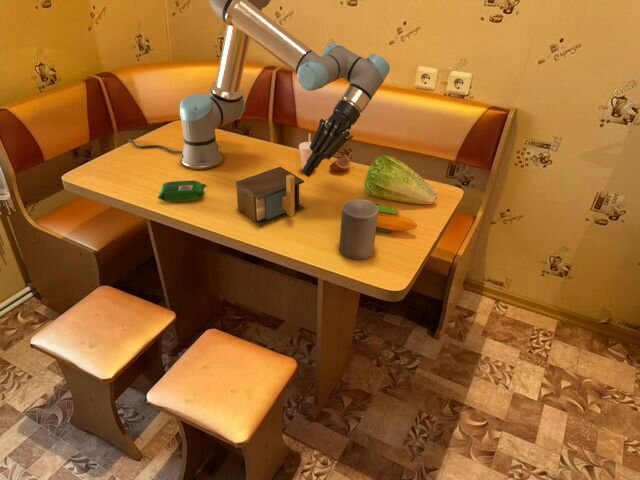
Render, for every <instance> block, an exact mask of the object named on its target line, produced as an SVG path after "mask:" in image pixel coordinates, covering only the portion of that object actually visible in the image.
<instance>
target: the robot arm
mask: <svg viewBox="0 0 640 480" xmlns="http://www.w3.org/2000/svg"><path fill="white" fill-rule="evenodd" d="M208 1H209V6H210V7H211V10H212V11H213V12H214V13H215V15H216V17H218V18H219V20H221V21H222V22H223V23H225V24H226V25H225V30H224V37H223V42H222V47H221V51H220V52H221V53H220V58H219V64H218V70H217V75H216V79H215V81H213V82H212V83H211V85H210V88H209V94H206V93H196V94H191V95H188V96H187V97H184V98H183V99H182V100H181V101H180V103H179V117H180V118H179V119H180V125H181V130H182V137H183V147H182V150H171V149H169V148H167V147H165V146H164V145H159V144H148V145H138V144H136V143H135V142H134V140H133V139H131V138H130V139H129V140H128V143H131V144H132V145H133V146H134V148H138V149H149V148H159V149H163V150H165V151H166V152H168V153H170V154H181V164H182V166H183V167H185V168H187V169H189V170H193V171H194V170H195V171H204V170H205V171H206V170H211V169H214V168H216V167H219V166H220V165H221V164H222V163H223V161H224V157H223V153H222V151H221V146H220V145H219V144H218V142H217V138H216V130H217V129H219V128H221V127H223V126H225V125H228V124H230V123H232V122H235V121H236V120H238V119H239V118H241V117H242V116H243V114H244V112H245V110H246V105H247V104H246V100H245V99H244V98H245V95H244V93H243V89H242V88H241V83H242V79H243V73H244V70H245V66H246V65H245V64H246V61H247V55H248V51H249V47H250V42H251V40H252V41H253V42H255V43H256V44H257V45H259V46H260V47H262V48H263V49H264V50H266V51H267V52H268V53H269V54H271V55H272V56H273V57H274V58H276V60H278V61H279V62H281V63H282V64H284V65H285V66H286V67H287V68H289V69H290V70H291V71H292V72H294V73H295V74H296V75H297V76H296V77H297V81H298V83H299V85H300V87H301V88H302V89H303V90H305V91H308V92H313V91H316V90H319V89H323V88H324V87H326V86H327V85H329V84H331V83H333V82H336V81H337V80H339V79H343V80H344V81H346V82H348V83H350V84H349V85H348V87H347V88H346V90H345V91H344V92H343V94H342V95H341V97H340V98H341V99H340V100H338V101H337V102H336V104H335V106H334V107H333V110H332V114H331V115H330V116H329V117H327V118H328V119H323V118H320V119H319V123H318V127H317V130H316V131H315V134H314V136H313V139H312V140H311V142H312V143H311V145H310V149H311V150H312V154H311V155H310V157H309V158H308V160H307V163H306V165H305V166H304V168H303V169H302V168H301V171H300V172H301V173H302V174H303V175H304V176H306V177H307V178H310V177H311V176H312V174H313V172H314V171H315V170H316V169H318V168H319V166H320V164H321V163H322V162H323V161H324V160H331V159H332V157H334V155H335V154H336V153H337V152H339V150H340V149H342V147H343V146H344V145H345V144H346V143H347V142H348V141H350V140H351V139H353V138H354V135H353V134H352V132H351V129H352V126H353V125H356V123H357V121H358V119H359V118H360V116H361V113H363V112H364V111H365V109H366V108H367V106H368V105H369V104H370V102H371V101H372V99H373V97H374V96H375V94H376V93H377V92H378V91H379V89H380V87H381V86H382V85H383V83H384V82H385V80H386V78H387V77H388V75H389V73H390V71H391V66H390V64H389V62H388V61H387V60H386V58H384V57H383V56H380V55H379V54H376V53H371V54H369V55H368V57H366V58H365V57H362V56H361V55H359V54H357V53H355V52H353V51H351V50H350V49H348V48H346V47H345V46H344V45H340V44H338V43H335V42H331V43H329V44H328V45H327V46H326V47H325V48H324V49H323V51H322V53H321V55H319V54H318V53H317V52H315V51H314V50H312V49H311V48H310V47H309V46H308V45H306V44H305V43H303V42H302V41H301V40H299V39H298V38H297V37H295V36H294V35H293V34H292V33H290V32H289V31H287V30H286V28H284V27H283V26H281V25H280V24H279V23H277V22H276V21H275V20H274V19H272V18H271V17H269V16H268V15H267V14H266V13H264V12H263V11H262V10H263V9H264V8H266V7H267V6H269V4H270V3H271V1H272V0H208Z"/></svg>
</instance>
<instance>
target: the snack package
mask: <svg viewBox="0 0 640 480" xmlns="http://www.w3.org/2000/svg"><path fill="white" fill-rule="evenodd" d="M206 187H208V185H206V183H203V182H200V181H198V180H177V181H176V180H173V181H166V182H164V183H163V184H162V185H161V188H160V192H159V194H158V195H157V199H159V200H162V201H164V202H166V203H177V202H188V201H190V202H191V201H197V200H199V199H200V198H201V197H202V196H204V195H205V188H206Z"/></svg>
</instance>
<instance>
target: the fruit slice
mask: <svg viewBox="0 0 640 480" xmlns="http://www.w3.org/2000/svg"><path fill="white" fill-rule="evenodd" d="M350 165H351V161H350V158H349V156H348V155H347V154H346V153H344V154H343V155H341V156H340V157H339V158H336V159H335V160H334V161H333V162H332V163H331V164H330V165H329V168H330V169H331V170H332V171H334V172H343V171H346V170H347V169H349V168H350Z"/></svg>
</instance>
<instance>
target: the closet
mask: <svg viewBox="0 0 640 480" xmlns="http://www.w3.org/2000/svg"><path fill="white" fill-rule="evenodd" d="M290 174H291V175H293V176H294V177H295V213H297V212H299V211H301V210H304V209H305V207H304V206H303V205H302V204H300V185H302V184H304V183H305V180H304V179H302V178H301V177H299V176H297V175H296V174H294V173H292V172H291V171H289V170H287V169H286V168H284V167H283V166H277V167H274V168H272V169H268V170H266V171H263V172H260V173H258V174H254V175H251V176H248V177H245V178H243V179H239V180H237V181H235V186H236V187H235V188H236V199H237V200H236V201H237V210H238V211H239V212H241V213H242V215H244V216H246V217H247V218H248V219H249V220H251V221H252V222H253V223H255V224H256V225H257V226H258V227H263V226H264V225H267V224H270V223H272V222H274V221H277V220H280V219H283V218H284V217H287V216H288V215H287V212H286V213H283V214H281V215H278V216H276V217H273V218H271V219H268V220H266V217H265V197H267V196H270V195H272V194H275V193H278V192H280V191H283V190H286V176H287V175H290Z"/></svg>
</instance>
